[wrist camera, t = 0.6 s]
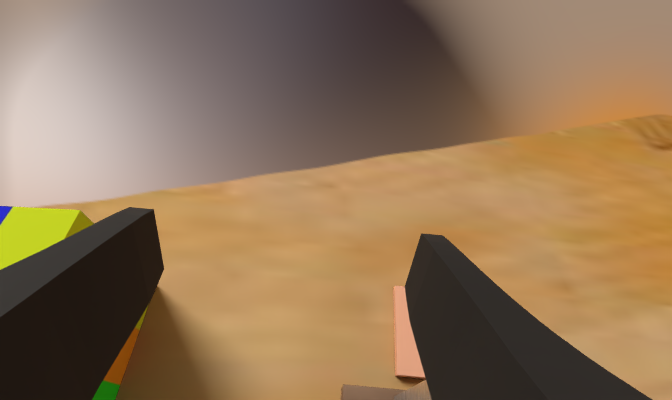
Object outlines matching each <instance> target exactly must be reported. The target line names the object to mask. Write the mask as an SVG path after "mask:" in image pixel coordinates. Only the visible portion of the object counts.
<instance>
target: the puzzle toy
mask: <svg viewBox="0 0 672 400" xmlns="http://www.w3.org/2000/svg"><path fill="white" fill-rule="evenodd" d="M93 224H94V223H93V222H92V221H91V220H90V219H89V218H88V217H87V216H86V215H85V214H84V213H83V212H81V211H80V210H66V209H47V208H28V207H8V206H0V270H1V269H3V268H5V267H7V266H9V265H12V264H14V263H16V262H18V261H20V260H22V259H24V258H27V257H29V256H31V255H33V254H35V253H37V252H39V251H41V250H43V249H46V248H48V247H49V246H51V245H53V244H55V243H57V242H59V241H61V240H63V239H65V238H67V237H69V236H71V235H73V234H75V233H77V232H79V231H81V230H83V229H85V228H87V227H89V226H91V225H93ZM148 305H149V304H148ZM147 308H148V306H147ZM147 308H146V310H145V311H144V313H143V315H142V316H141V318H140V320H139V321H138V323H137V325H136V327H135V328H134V330H133V332H132V333H131V335H130V337H129V338H128V340H127V341H126V343H125V345H124V346H123V348H122V350H121V351H120V353H119V355H118V356H117V358H116V360H115V361H114V363H113V365H112V366H111V368H110V370H109V371H108V373H107V375H106V376H105V378H104V380H103V381H102V383H101V385H100V386H99V388H98V390H97V392H96V394H95V395H94V397H93V399H92V400H115V399H116V396H117V393H118V390H119V387H120V385H121V382H122V379H123V376H124V373H125V370H126V368H127V365H128V362H129V359H130V356H131V353H132V350H133V348H134V345H135V342H136V339H137V336H138V333H139V331H140V328H141V325H142V322H143V319H144V316H145V314H146V311H147Z"/></svg>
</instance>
